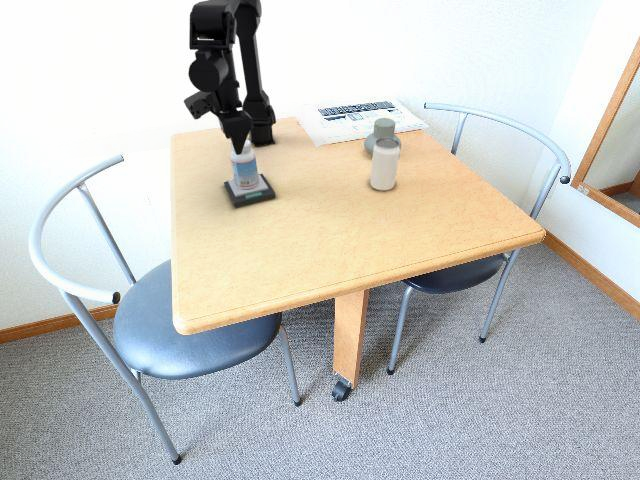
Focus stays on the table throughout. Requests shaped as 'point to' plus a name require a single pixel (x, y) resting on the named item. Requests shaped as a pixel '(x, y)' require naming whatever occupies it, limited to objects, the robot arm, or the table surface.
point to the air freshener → (381, 133)
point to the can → (384, 164)
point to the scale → (249, 192)
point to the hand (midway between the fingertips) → (233, 146)
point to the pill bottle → (244, 167)
